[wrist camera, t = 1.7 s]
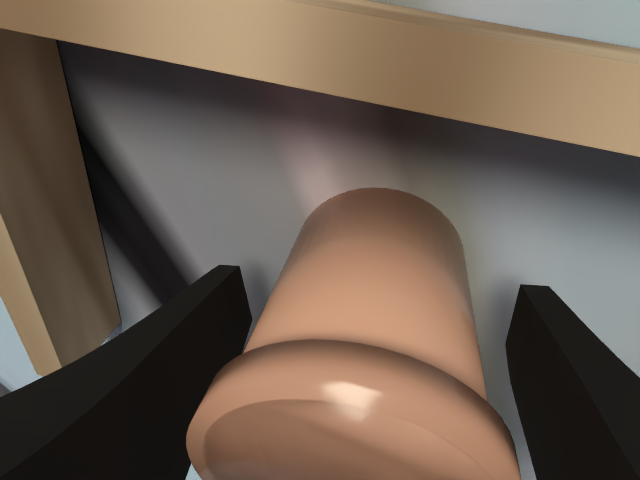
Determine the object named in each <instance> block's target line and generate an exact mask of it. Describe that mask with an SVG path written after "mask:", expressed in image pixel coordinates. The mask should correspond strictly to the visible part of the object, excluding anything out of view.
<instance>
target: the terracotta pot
mask: <svg viewBox="0 0 640 480" xmlns="http://www.w3.org/2000/svg"><path fill="white" fill-rule="evenodd" d="M186 447H187V451H188V455H189V458H190V460H191V463H192V465H193V467H194V469H195V470H196V472H197V473H198V475H199V476H200V478H201V479H202V480H522V479H521V474H520V469H519V464H518V459H517V454H516V449H515V444H514V442H513V439H512V436H511V434H510V431H509V429H508V428H507V426H506V424H505V423H504V421H503V420H502V418H501V417H500V415H499V414H498V413H497V412H496V411H495V410H494V409H493V407H492V406H491V405H490V404H489V403H488V402H487V396H486V389H485V383H484V377H483V370H482V364H481V358H480V351H479V345H478V339H477V333H476V326H475V320H474V314H473V307H472V301H471V295H470V288H469V282H468V276H467V270H466V263H465V257H464V251H463V245H462V243H461V240H460V237H459V235H458V233H457V231H456V229H455V228H454V226H453V225H452V223H451V222H450V221H449V219H448V218H447V217H446V216H445V215H444V214H443V213H442V212H441V211H439V210H438V209H437V208H435V207H434V206H433V205H431V204H430V203H428V202H426V201H425V200H423V199H421V198H419V197H417V196H414V195H412V194H409V193H406V192H402V191H399V190H394V189H387V188H362V189H356V190H351V191H348V192H345V193H342V194H339V195H337V196H335V197H333V198H330V199H329V200H327V201H326V202H324V203H323V204H321V205H320V206H319V207H318V208H316V209H315V210H314V211H313V212H312V213H311V215H310V216H309V217H308V218H307V220H306V221H305V223H304V225H303V226H302V228H301V231H300V233H299V235H298V237H297V239H296V241H295V243H294V246H293V248H292V250H291V252H290V254H289V256H288V258H287V261H286V263H285V265H284V267H283V269H282V271H281V273H280V276H279V278H278V280H277V282H276V284H275V286H274V288H273V290H272V293H271V295H270V297H269V299H268V301H267V303H266V305H265V308H264V310H263V312H262V314H261V316H260V318H259V320H258V323H257V325H256V327H255V329H254V331H253V333H252V335H251V337H250V340H249V342H248V344H247V346H246V348H245V350H244V352H243V354H241V355H239V356H237V357H235V358H234V359H233V360H231V361H230V362H228V363H227V364H226V365H224V366H223V367H222V369H221V370H220V371H219V372H218V373H217V374H216V375H215V377H214V379H213V380H212V382H211V384H210V386H209V388H208V390H207V392H206V394H205V395H204V397H203V399H202V401H201V403H200V405H199V407H198V409H197V411H196V413H195V415H194V417H193V419H192V421H191V423H190V425H189V428H188V431H187V435H186Z"/></svg>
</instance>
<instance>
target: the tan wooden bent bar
mask: <svg viewBox="0 0 640 480" xmlns="http://www.w3.org/2000/svg"><path fill="white" fill-rule="evenodd" d="M56 39H57V40H62V41H67V42H72V43H77V44H82V45H87V46H92V47H97V48H102V49H107V50H112V51H117V52H122V53H127V54H132V55H137V56H142V57H147V58H152V59H157V60H162V61H166V62H171V63H176V64H181V65H186V66H191V67H196V68H201V69H206V70H211V71H216V72H221V73H226V74H231V75H236V76H241V77H246V78H251V79H256V80H261V81H266V82H271V83H276V84H281V85H286V86H291V87H296V88H301V89H306V90H310V91H315V92H320V93H325V94H330V95H335V96H340V97H345V98H350V99H355V100H360V101H365V102H370V103H375V104H380V105H385V106H390V107H395V108H400V109H405V110H410V111H415V112H420V113H425V114H430V115H435V116H440V117H445V118H450V119H454V120H459V121H464V122H469V123H474V124H479V125H484V126H489V127H494V128H499V129H504V130H509V131H514V132H519V133H524V134H529V135H534V136H539V137H544V138H549V139H554V140H559V141H564V142H569V143H574V144H579V145H584V146H589V147H594V148H598V149H603V150H608V151H613V152H618V153H623V154H628V155H633V156H638V157H640V49H637V48H631V47H626V46H620V45H614V44H609V43H603V42H597V41H592V40H586V39H581V38H575V37H569V36H564V35H558V34H552V33H547V32H541V31H535V30H530V29H524V28H518V27H513V26H507V25H502V24H496V23H490V22H485V21H479V20H473V19H468V18H462V17H456V16H451V15H445V14H439V13H434V12H428V11H422V10H417V9H411V8H406V7H400V6H394V5H389V4H383V3H377V2H372V1H366V0H0V296H1V298H2V300H3V302H4V304H5V306H6V308H7V311H8V313H9V315H10V317H11V319H12V321H13V324H14V326H15V328H16V330H17V332H18V334H19V336H20V339H21V341H22V343H23V345H24V347H25V349H26V352H27V354H28V356H29V358H30V360H31V362H32V364H33V367H34V369H35V371H36V373H37V374H38V375H41V376H46V375H48V374H50V373H52V372H54V371H56V370H58V369H60V368H62V367H64V366H66V365H68V364H70V363H72V362H74V361H76V360H77V359H79V358H81V357H83V356H84V355H86V354H88V353H90V352H91V351H93V350H95V349H97V348H98V347H100V346H101V344H102V343H103V342H104V341H105V340H106V339H107V337H108V336H109V335H110V334H111V333H112V332H113V330H114V329H115V328H116V327H117V326H118V325H119V324H120V322H121V320H120V316H119V311H118V307H117V303H116V298H115V294H114V290H113V285H112V281H111V277H110V272H109V268H108V264H107V259H106V255H105V251H104V246H103V242H102V238H101V233H100V229H99V225H98V220H97V216H96V212H95V207H94V203H93V199H92V194H91V190H90V186H89V181H88V177H87V173H86V168H85V164H84V160H83V155H82V151H81V147H80V142H79V138H78V134H77V129H76V125H75V121H74V116H73V112H72V108H71V103H70V99H69V95H68V90H67V86H66V82H65V77H64V73H63V69H62V64H61V60H60V56H59V51H58V47H57V43H56Z"/></svg>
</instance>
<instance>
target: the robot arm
mask: <svg viewBox="0 0 640 480" xmlns="http://www.w3.org/2000/svg"><path fill="white" fill-rule="evenodd" d="M251 322H252V316H251V312H250V308H249V304H248V300H247V295H246V291H245V287H244V283H243V279H242V275H241V270H240V266H230V265H218V266H217V267H215V268H214V269H212V270H211V271H209V272H208V273H207V274H205V275H204V276H202V277H201V278H200V279H198V280H197V281H196V282H194V283H193V284H191V285H190V286H189V287H187V288H186V289H185V290H183V291H182V292H181V293H179V294H178V295H176V296H175V297H174V298H172V299H171V300H170V301H168V302H167V303H165V304H164V305H163V306H161V307H160V308H159V309H157V310H156V311H154V312H153V313H151V314H150V315H148V316H147V317H145V318H144V319H142V320H141V321H139V322H138V323H136V324H135V325H133V326H132V327H130V328H129V329H127V330H126V331H124V332H123V333H121V334H120V335H118V336H117V337H115V338H113V339H112V340H110V341H109V342H107V343H105V344H104V345H102V346H100V347H98V348H97V349H95V350H93V351H91V352H90V353H88V354H86V355H84V356H83V357H81V358H79V359H77V360H76V361H74V362H72V363H70V364H68V365H66V366H64V367H62V368H60V369H58V370H56V371H54V372H52V373H50V374H48V375H46V376H44V377H42V378H40V379H38V380H36V381H34V382H32V383H30V384H28V385H26V386H24V387H22V388H20V389H18V390H15V391H13V392H11V393H9V394H6V395H4V396H2V397H0V480H185V479H186V476H187V473H188V471H189V468H190V465H191V460H190V458H189V455H188V451H187V447H186V435H187V431H188V428H189V425H190V423H191V421H192V419H193V417H194V415H195V413H196V411H197V409H198V407H199V405H200V403H201V401H202V399H203V397H204V395H205V394H206V392H207V390H208V388H209V386H210V384H211V382H212V380H213V379H214V377H215V375H216V374H217V373H218V372H219V371H220V370H221V369H222V367H223V366H224V365H226V364H227V363H228V362H230V361H231V360H233V359H234V358H235V357H237V356H239V355H241V353H242V350H243V347H244V344H245V341H246V338H247V335H248V332H249V329H250V326H251ZM505 346H506V353H507V361H508V369H509V375H510V382H511V386H512V390H513V394H514V398H515V402H516V405H517V409H518V413H519V416H520V420H521V424H522V427H523V431H524V435H525V438H526V442H527V446H528V449H529V453H530V456H531V460H532V464H533V467H534V471H535V475H536V478H537V480H640V378H639V377H638V376H637V375H636V374H635V373H634V372H633V371H632V370H631V369H630V368H628V367H627V366H626V365H625V364H624V363H623V362H622V361H621V360H620V359H619V358H618V357H617V356H616V355H615V354H614V353H613V352H612V351H611V350H610V349H609V348H608V347H607V346H606V345H605V344H604V343H603V342H602V341H601V340H600V339H599V338H598V337H597V336H596V335H595V334H594V333H593V332H592V331H591V330H590V329H589V328H588V327H587V326H586V325H585V324H584V323H583V322H582V321H581V320H580V319H579V318H578V317H577V315H576V314H575V313H574V312H573V311H572V310H571V309H570V308H569V307H568V306H567V305H566V304H565V303H564V302H563V301H562V300H561V298H560V297H559V296H558V295H557V294H556V293H555V292H554V291H553V290H552V289H551V288H550V287H549V286H538V285H522V284H520V288H519V292H518V296H517V300H516V304H515V308H514V312H513V316H512V320H511V324H510V328H509V331H508V335H507V339H506V343H505Z"/></svg>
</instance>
